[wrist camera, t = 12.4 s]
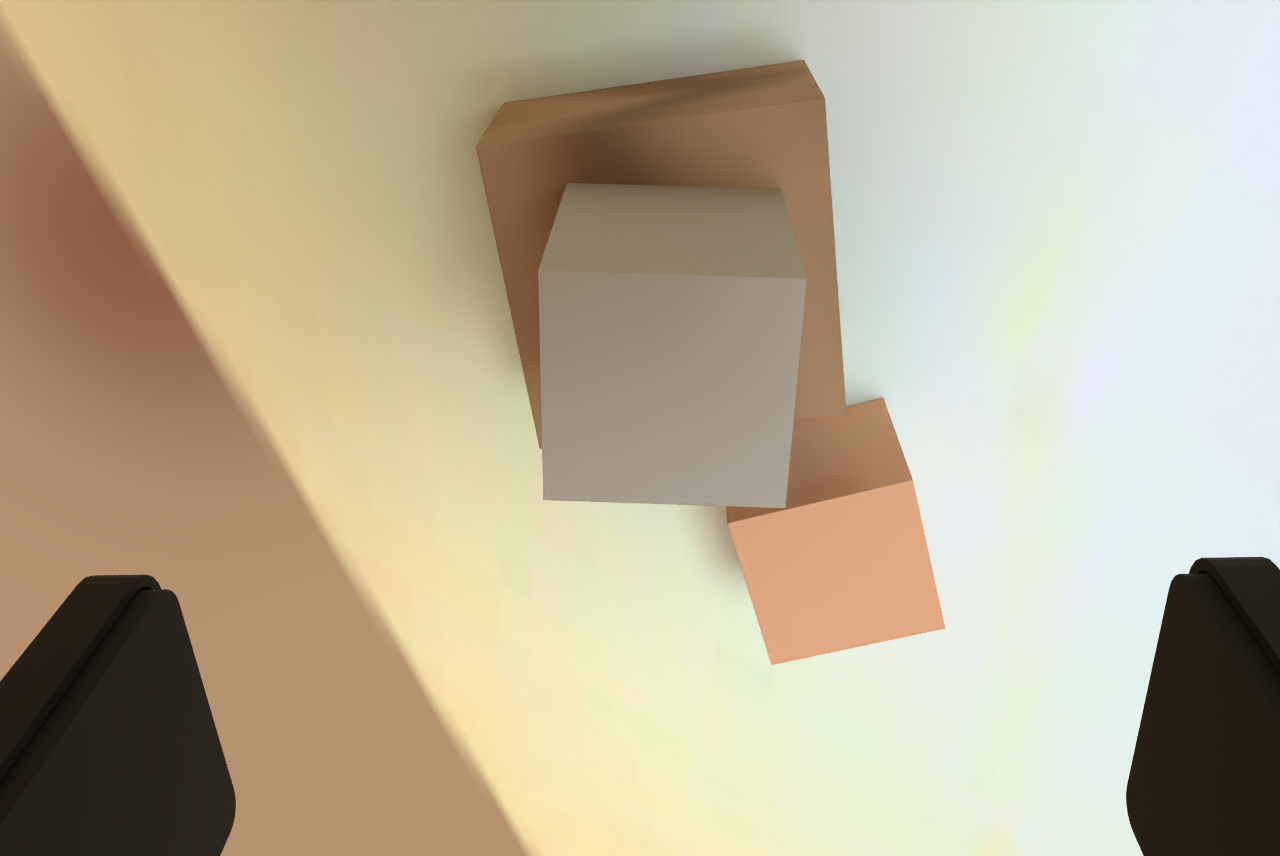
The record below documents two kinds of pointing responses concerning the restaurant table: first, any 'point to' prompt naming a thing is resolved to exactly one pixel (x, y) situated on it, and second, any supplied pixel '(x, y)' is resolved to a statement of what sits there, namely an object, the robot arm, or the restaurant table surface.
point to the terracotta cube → (839, 542)
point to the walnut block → (672, 156)
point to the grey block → (669, 345)
